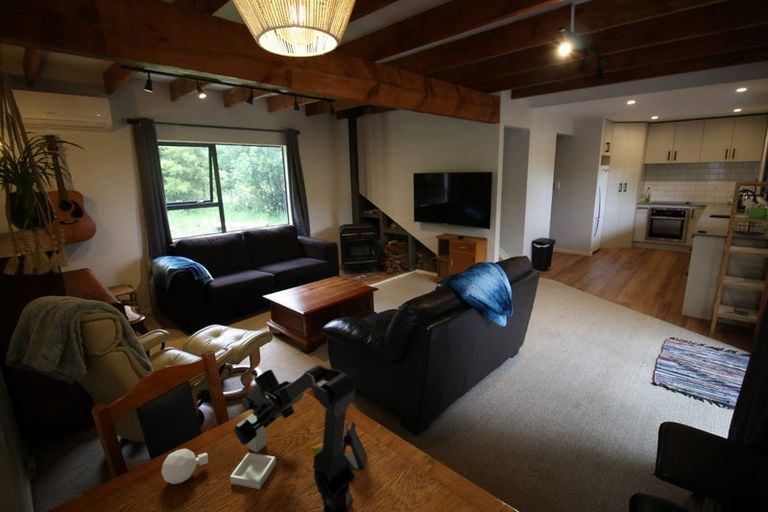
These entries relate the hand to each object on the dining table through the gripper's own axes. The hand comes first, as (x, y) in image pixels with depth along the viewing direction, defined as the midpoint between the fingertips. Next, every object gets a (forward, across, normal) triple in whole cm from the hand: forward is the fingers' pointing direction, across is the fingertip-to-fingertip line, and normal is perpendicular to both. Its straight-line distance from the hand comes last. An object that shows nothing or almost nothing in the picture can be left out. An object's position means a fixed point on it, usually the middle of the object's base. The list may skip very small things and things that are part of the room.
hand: (252, 427), depth 119 cm
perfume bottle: (+11, +18, 0) cm, 21 cm away
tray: (-1, +8, +11) cm, 14 cm away
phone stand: (-18, -9, +28) cm, 34 cm away
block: (+4, 0, +6) cm, 7 cm away
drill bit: (-12, -6, +22) cm, 25 cm away
